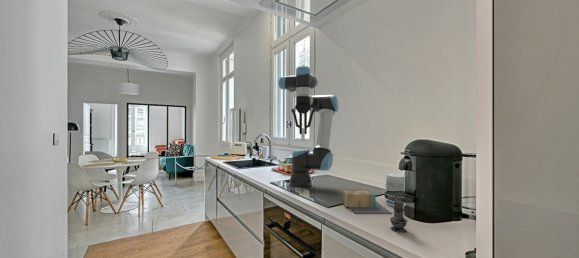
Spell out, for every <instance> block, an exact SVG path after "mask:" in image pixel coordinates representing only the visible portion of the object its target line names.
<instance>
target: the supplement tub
mask: <svg viewBox="0 0 579 258" xmlns="http://www.w3.org/2000/svg"><path fill="white" fill-rule="evenodd" d="M404 175H405V174H403V173H386V175H385V176H386V177H385V193H386V192H387V191H404V182H405V176H404ZM385 203H386V204H387V206H389V207H393V208H394V202H393V201H390V200H387V199H386V198H385ZM403 208H405V207H404V203H403Z"/></svg>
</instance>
